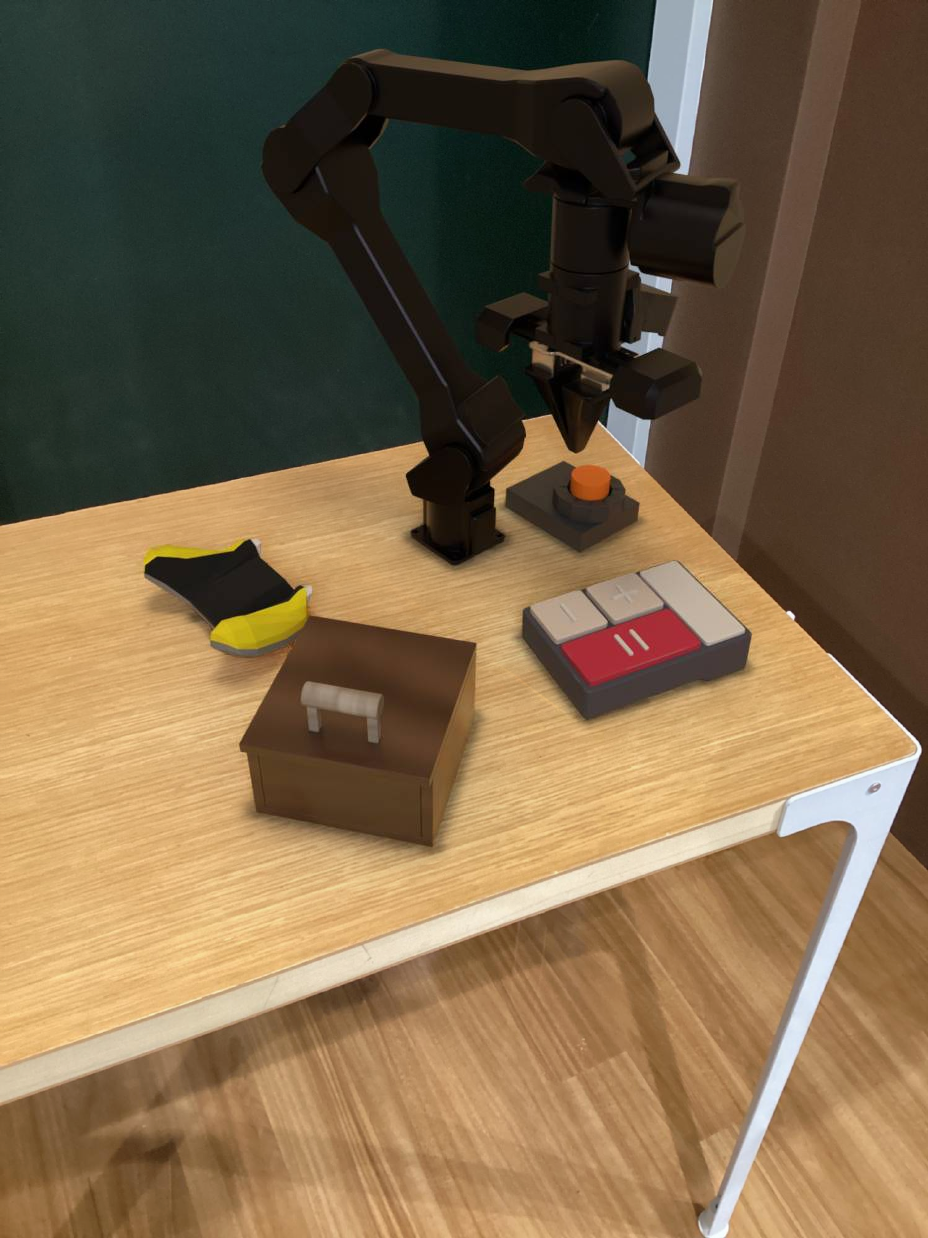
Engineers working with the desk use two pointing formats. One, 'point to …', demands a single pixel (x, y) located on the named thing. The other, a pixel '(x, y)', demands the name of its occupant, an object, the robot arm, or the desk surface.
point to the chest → (365, 789)
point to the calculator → (634, 638)
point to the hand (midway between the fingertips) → (576, 450)
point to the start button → (590, 482)
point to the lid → (363, 701)
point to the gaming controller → (233, 595)
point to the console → (571, 507)
